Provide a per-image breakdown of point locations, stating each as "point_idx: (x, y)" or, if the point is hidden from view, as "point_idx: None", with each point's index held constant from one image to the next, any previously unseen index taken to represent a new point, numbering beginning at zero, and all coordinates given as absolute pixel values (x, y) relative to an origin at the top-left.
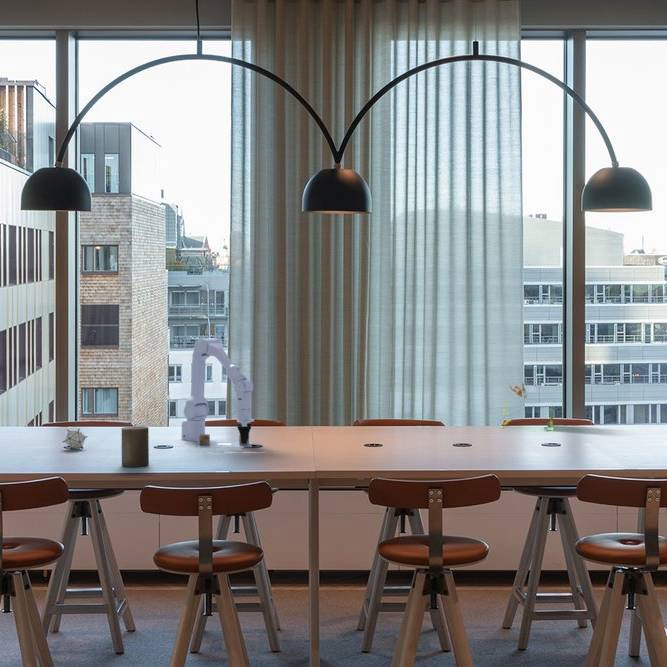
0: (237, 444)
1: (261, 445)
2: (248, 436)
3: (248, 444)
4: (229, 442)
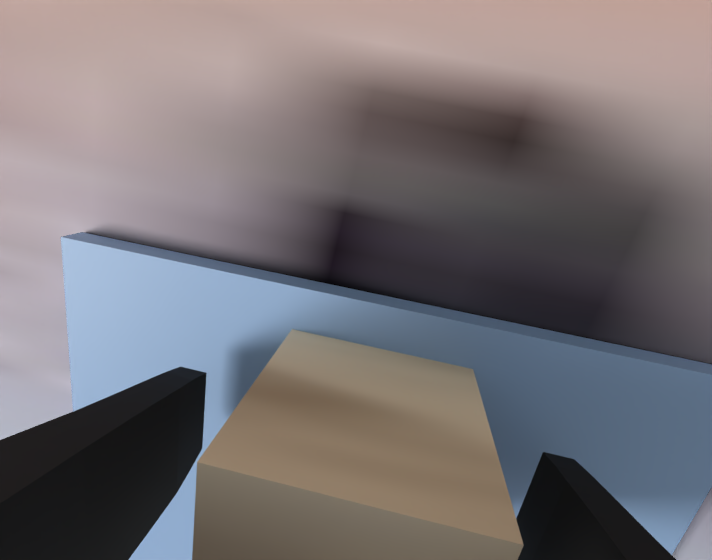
0: None
1: (398, 97)
2: (506, 522)
3: (472, 386)
4: None
